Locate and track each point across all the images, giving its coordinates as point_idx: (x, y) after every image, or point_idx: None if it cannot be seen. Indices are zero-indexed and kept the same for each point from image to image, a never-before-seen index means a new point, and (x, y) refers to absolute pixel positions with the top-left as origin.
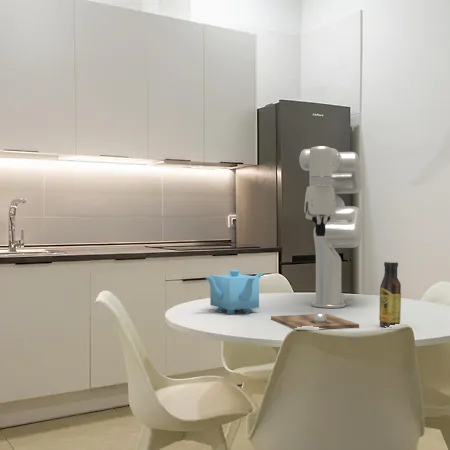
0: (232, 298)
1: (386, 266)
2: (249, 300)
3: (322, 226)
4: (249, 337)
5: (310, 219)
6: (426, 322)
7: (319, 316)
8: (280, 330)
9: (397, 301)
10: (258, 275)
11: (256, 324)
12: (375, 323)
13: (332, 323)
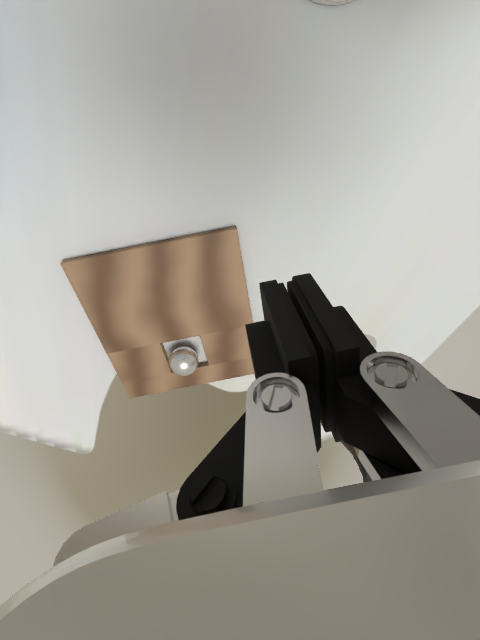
0: None
1: (363, 481)
2: None
3: (320, 418)
4: (40, 437)
5: (168, 500)
6: (425, 322)
7: (180, 375)
8: (95, 389)
9: None
10: None
11: (32, 329)
12: None
13: (208, 365)
